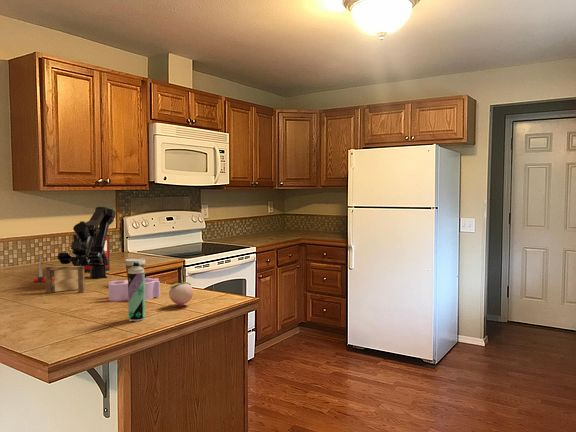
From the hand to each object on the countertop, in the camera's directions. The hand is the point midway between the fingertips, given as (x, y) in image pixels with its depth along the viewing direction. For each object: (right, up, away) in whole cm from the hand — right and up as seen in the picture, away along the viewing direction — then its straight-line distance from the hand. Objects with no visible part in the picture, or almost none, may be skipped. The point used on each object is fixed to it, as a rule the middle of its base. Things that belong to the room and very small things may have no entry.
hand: (75, 273), depth 209 cm
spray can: (+43, -10, -47) cm, 65 cm away
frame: (-2, -8, -6) cm, 10 cm away
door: (-3, -7, -3) cm, 8 cm away
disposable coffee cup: (+23, -7, +11) cm, 27 cm away
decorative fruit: (+54, -9, -29) cm, 62 cm away
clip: (+31, -9, -15) cm, 36 cm away
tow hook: (-24, -6, +21) cm, 33 cm away
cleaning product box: (-13, -5, +49) cm, 51 cm away
